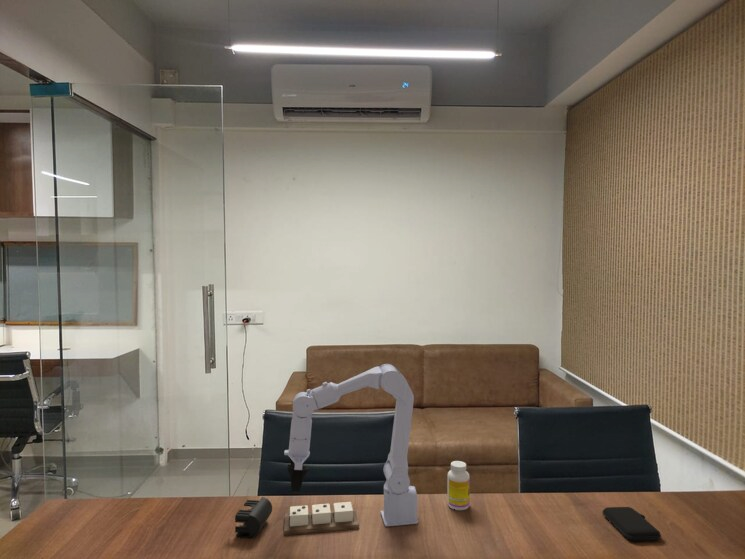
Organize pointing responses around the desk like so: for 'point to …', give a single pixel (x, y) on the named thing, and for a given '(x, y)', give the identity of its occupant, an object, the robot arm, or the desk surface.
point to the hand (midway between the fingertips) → (295, 484)
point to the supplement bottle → (458, 486)
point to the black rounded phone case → (631, 524)
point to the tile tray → (320, 525)
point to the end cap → (252, 518)
